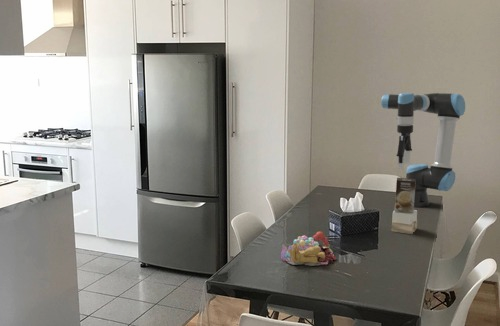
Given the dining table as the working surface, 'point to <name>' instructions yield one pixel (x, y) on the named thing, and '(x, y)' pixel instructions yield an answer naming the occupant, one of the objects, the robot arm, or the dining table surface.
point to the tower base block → (404, 227)
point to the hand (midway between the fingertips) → (404, 166)
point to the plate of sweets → (308, 251)
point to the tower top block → (404, 217)
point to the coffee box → (405, 195)
